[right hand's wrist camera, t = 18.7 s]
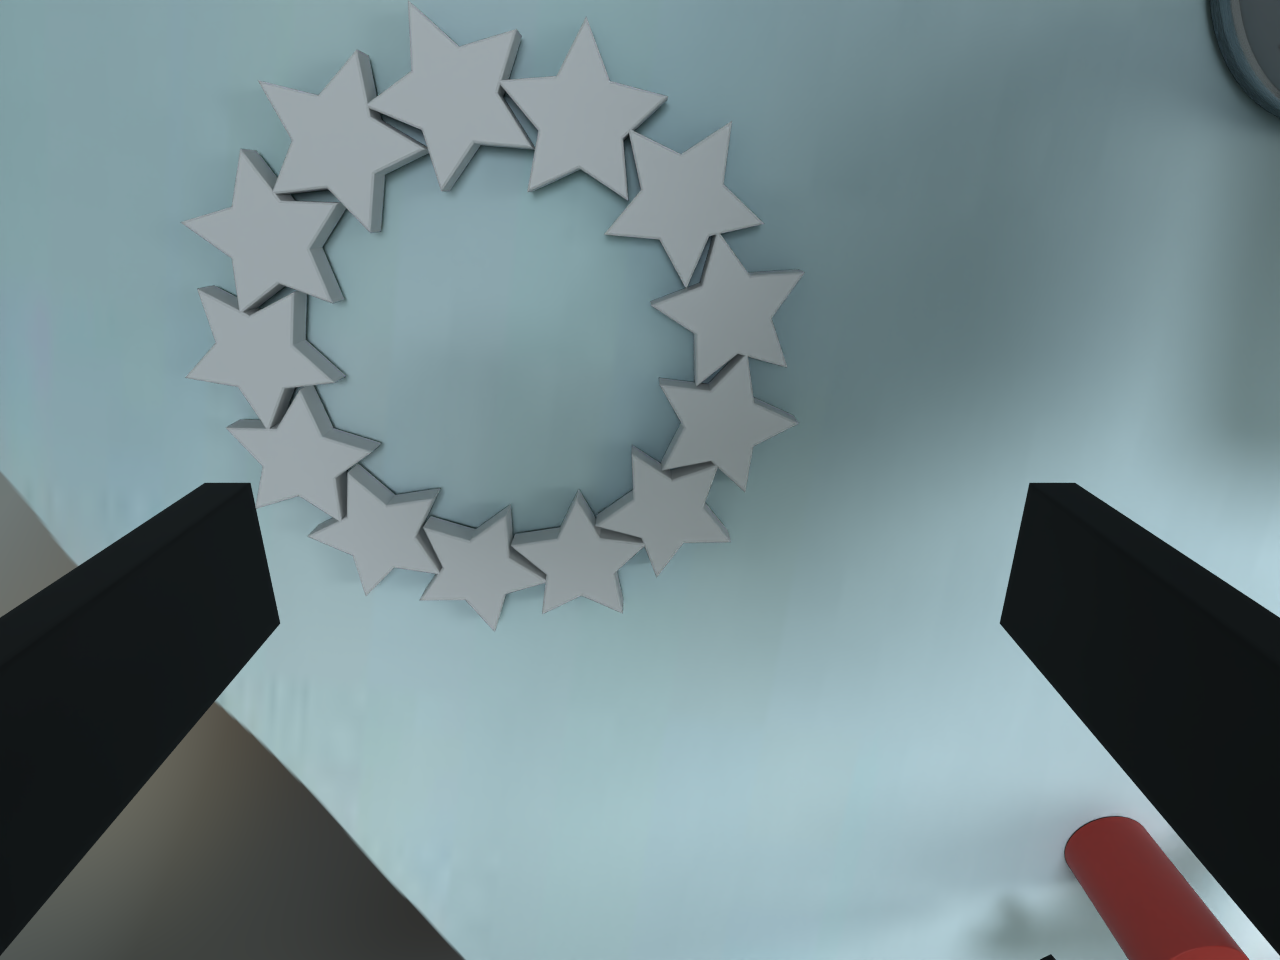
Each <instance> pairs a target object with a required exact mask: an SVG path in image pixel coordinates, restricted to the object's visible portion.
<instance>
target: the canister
mask: <svg viewBox="0 0 1280 960" xmlns="http://www.w3.org/2000/svg"><path fill="white" fill-rule="evenodd" d="M1065 859H1066V862H1067V864H1068V866H1069V867H1070V869H1071V870H1072V872H1073V873H1074V875H1075V877H1076V878H1077V880H1078V881H1079V883H1080V884H1081V886H1082V888H1083V889H1084V891H1085V892H1086V894H1087V895H1088V897H1089V898H1090V900H1091V902H1092V903H1093V905H1094V906H1095V908H1096V909H1097V911H1098V913H1099V914H1100V916H1101V917H1102V919H1103V920H1104V922H1105V923H1106V925H1107V927H1108V928H1109V930H1110V931H1111V933H1112V934H1113V936H1114V938H1115V939H1116V941H1117V942H1118V944H1119V945H1120V947H1121V948H1122V950H1123V952H1124V953H1125V955H1126V956H1127V958H1128V959H1129V960H1249V959H1248V957H1247V956H1246V955H1245V953H1244V952H1243V951H1242V950H1241V948H1240V947H1239V946H1238V945H1237V943H1236V942H1235V941H1234V940H1233V938H1232V937H1231V936H1230V935H1229V933H1228V932H1227V931H1226V930H1225V928H1224V927H1223V926H1222V925H1221V923H1220V922H1219V921H1218V920H1217V918H1216V917H1215V916H1214V915H1213V913H1212V912H1211V911H1210V910H1209V908H1208V907H1207V906H1206V905H1205V903H1204V902H1203V901H1202V900H1201V898H1200V897H1199V896H1198V895H1197V893H1196V892H1195V891H1194V890H1193V888H1192V887H1191V886H1190V885H1189V883H1188V882H1187V881H1186V880H1185V878H1184V877H1183V876H1182V875H1181V873H1180V872H1179V871H1178V870H1177V868H1176V867H1175V866H1174V865H1173V863H1172V862H1171V861H1170V860H1169V858H1168V857H1167V856H1166V855H1165V853H1164V852H1163V851H1162V850H1161V848H1160V847H1159V846H1158V845H1157V843H1156V842H1155V841H1154V840H1153V838H1152V837H1151V836H1150V835H1149V833H1148V832H1147V831H1146V829H1145V828H1144V827H1143V826H1142V825H1141V824H1140V823H1138V822H1136V821H1134V820H1132V819H1129V818H1125V817H1106V818H1101V819H1098V820H1095V821H1092V822H1090V823H1088V824H1086V825H1084V826H1083V827H1081V828H1080V829H1079V830H1078V831H1076V832H1075V833H1074V834H1073V835H1072V837H1071V838H1070V839H1069V841H1068V843H1067V845H1066V849H1065Z"/></svg>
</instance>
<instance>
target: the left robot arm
mask: <svg viewBox="0 0 1280 960" xmlns="http://www.w3.org/2000/svg"><path fill="white" fill-rule="evenodd" d="M1040 960H1056V959H1055V958H1054V957H1053V956H1052V955H1048V956H1046V957H1044V958H1042V959H1040Z"/></svg>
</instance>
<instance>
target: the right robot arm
mask: <svg viewBox="0 0 1280 960" xmlns="http://www.w3.org/2000/svg"><path fill="white" fill-rule="evenodd" d="M1210 6H1211V15H1212V21H1213V26H1214V31H1215V35H1216V38H1217V41H1218V45H1219V48H1220V51H1221V53H1222V55H1223V58H1224V60H1225V62H1226V64H1227V66H1228V68H1229V70H1230V71H1231V73H1232V75H1233V76H1234V78H1235V80H1236V81H1237V82H1238V83H1239V85H1240V86H1241V87H1242V89H1243V90H1244V91H1245V92H1246V93H1247V94H1248V95H1249V96H1250V97H1251V98H1252V99H1253V100H1254V101H1255V102H1256V103H1257V104H1259V105H1260V106H1261V107H1263V108H1264V109H1265V110H1267V111H1268V112H1270V113H1272V114H1273V115H1275V116H1277V117H1279V118H1280V0H1210ZM279 624H280V620H279V616H278V611H277V606H276V601H275V597H274V592H273V587H272V582H271V578H270V573H269V568H268V564H267V559H266V554H265V549H264V545H263V540H262V535H261V530H260V526H259V521H258V516H257V512H256V507H255V502H254V497H253V493H252V488H251V483H204V484H203V485H201V486H200V487H198V488H196V489H195V490H193V491H192V492H190V493H189V494H187V495H186V496H184V497H183V498H181V499H180V500H178V501H177V502H175V503H174V504H172V505H171V506H169V507H168V508H166V509H165V510H163V511H162V512H160V513H159V514H157V515H155V516H154V517H152V518H151V519H149V520H148V521H146V522H145V523H143V524H142V525H140V526H139V527H137V528H136V529H134V530H133V531H131V532H130V533H128V534H127V535H125V536H124V537H122V538H121V539H119V540H118V541H116V542H114V543H113V544H111V545H110V546H108V547H107V548H105V549H104V550H102V551H101V552H99V553H98V554H96V555H95V556H93V557H92V558H90V559H89V560H87V561H86V562H84V563H83V564H81V565H80V566H78V567H77V568H75V569H73V570H72V571H71V572H69V573H68V574H66V575H64V576H63V577H61V578H60V579H58V580H57V581H55V582H54V583H52V584H51V585H49V586H48V587H46V588H45V589H43V590H42V591H40V592H39V593H37V594H36V595H34V596H32V597H31V598H30V599H28V600H26V601H25V602H23V603H22V604H20V605H19V606H17V607H16V608H14V609H13V610H11V611H10V612H8V613H7V614H5V615H4V616H2V617H1V618H0V955H1V954H2V953H3V952H4V951H5V949H6V948H7V947H8V946H9V945H10V943H11V942H12V941H13V940H14V939H15V938H16V936H17V935H18V934H19V933H20V932H21V930H22V929H23V928H24V927H25V926H26V924H27V923H28V922H29V921H30V920H31V918H32V917H33V916H34V915H35V914H36V913H37V911H38V910H39V909H40V908H41V907H42V905H43V904H44V903H45V902H46V901H47V900H48V898H49V897H50V896H51V895H52V894H53V892H54V891H55V890H56V889H57V888H58V886H59V885H60V884H61V883H62V882H63V881H64V879H65V878H66V877H67V876H68V875H69V873H70V872H71V871H72V870H73V869H74V867H75V866H76V865H77V864H78V863H79V862H80V860H81V859H82V858H83V857H84V856H85V854H86V853H87V852H88V851H89V850H90V848H91V847H92V846H93V845H94V844H95V843H96V841H97V840H98V839H99V838H100V837H101V835H102V834H103V833H104V832H105V831H106V829H107V828H108V827H109V826H110V825H111V823H112V822H113V821H114V820H115V819H116V818H117V816H118V815H119V814H120V813H121V812H122V811H123V809H124V808H125V807H126V806H127V805H128V803H129V802H130V801H131V800H132V799H133V797H134V796H135V795H136V794H137V793H138V791H139V790H140V789H141V788H142V787H143V786H144V784H145V783H146V782H147V781H148V780H149V778H150V777H151V776H152V775H153V774H154V773H155V771H156V770H157V769H158V768H159V767H160V765H161V764H162V763H163V762H164V761H165V760H166V758H167V757H168V756H169V755H170V754H171V752H172V751H173V750H174V749H175V748H176V746H177V745H178V744H179V743H180V742H181V740H182V739H183V738H184V737H185V736H186V735H187V733H188V732H189V731H190V730H191V729H192V727H193V726H194V725H195V724H196V723H197V722H198V720H199V719H200V718H201V717H202V716H203V714H204V713H205V712H206V711H207V710H208V708H209V707H210V706H211V705H212V704H213V703H214V701H215V700H216V699H217V698H218V697H219V695H220V694H221V693H222V692H223V691H224V689H225V688H226V687H227V686H228V685H229V684H230V682H231V681H232V680H233V679H234V678H235V676H236V675H237V674H238V673H239V672H240V671H241V669H242V668H243V667H244V666H245V665H246V663H247V662H248V661H249V660H250V659H251V657H252V656H253V655H254V654H255V653H256V652H257V650H258V649H259V648H260V647H261V646H262V644H263V643H264V642H265V641H266V640H267V638H268V637H269V636H270V635H271V634H272V633H273V631H274V630H275V629H276V628H277V627H278V625H279ZM1000 624H1001V625H1002V627H1003V628H1004V629H1005V630H1006V631H1007V633H1008V634H1009V635H1010V636H1011V637H1012V638H1013V640H1014V641H1015V642H1016V643H1017V644H1018V646H1019V647H1020V648H1021V649H1022V650H1023V652H1024V653H1025V654H1026V655H1027V656H1028V657H1029V659H1030V660H1031V661H1032V662H1033V663H1034V665H1035V666H1036V667H1037V668H1038V669H1039V671H1040V672H1041V673H1042V674H1043V675H1044V676H1045V678H1046V679H1047V680H1048V681H1049V682H1050V684H1051V685H1052V686H1053V687H1054V688H1055V689H1056V691H1057V692H1058V693H1059V694H1060V695H1061V697H1062V698H1063V699H1064V700H1065V701H1066V703H1067V704H1068V705H1069V706H1070V707H1071V708H1072V710H1073V711H1074V712H1075V713H1076V714H1077V716H1078V717H1079V718H1080V719H1081V720H1082V722H1083V723H1084V724H1085V725H1086V726H1087V727H1088V729H1089V730H1090V731H1091V732H1092V733H1093V735H1094V736H1095V737H1096V738H1097V739H1098V741H1099V742H1100V743H1101V744H1102V745H1103V746H1104V748H1105V749H1106V750H1107V751H1108V752H1109V754H1110V755H1111V756H1112V757H1113V758H1114V760H1115V761H1116V762H1117V763H1118V764H1119V765H1120V767H1121V768H1122V769H1123V770H1124V771H1125V773H1126V774H1127V775H1128V776H1129V777H1130V778H1131V780H1132V781H1133V782H1134V783H1135V784H1136V786H1137V787H1138V788H1139V789H1140V790H1141V792H1142V793H1143V794H1144V795H1145V796H1146V797H1147V799H1148V800H1149V801H1150V802H1151V803H1152V805H1153V806H1154V807H1155V808H1156V809H1157V811H1158V812H1159V813H1160V814H1161V815H1162V816H1163V818H1164V819H1165V820H1166V821H1167V822H1168V824H1169V825H1170V826H1171V827H1172V828H1173V830H1174V831H1175V832H1176V833H1177V834H1178V835H1179V837H1180V838H1181V839H1182V840H1183V841H1184V843H1185V844H1186V845H1187V846H1188V847H1189V849H1190V850H1191V851H1192V852H1193V853H1194V854H1195V856H1196V857H1197V858H1198V859H1199V860H1200V862H1201V863H1202V864H1203V865H1204V866H1205V868H1206V869H1207V870H1208V871H1209V872H1210V873H1211V875H1212V876H1213V877H1214V878H1215V879H1216V881H1217V882H1218V883H1219V884H1220V885H1221V886H1222V888H1223V889H1224V890H1225V891H1226V892H1227V894H1228V895H1229V896H1230V897H1231V898H1232V900H1233V901H1234V902H1235V903H1236V904H1237V905H1238V907H1239V908H1240V909H1241V910H1242V911H1243V913H1244V914H1245V915H1246V916H1247V917H1248V919H1249V920H1250V921H1251V922H1252V923H1253V924H1254V926H1255V927H1256V928H1257V929H1258V930H1259V932H1260V933H1261V934H1262V935H1263V936H1264V938H1265V939H1266V940H1267V941H1268V942H1269V943H1270V945H1271V946H1272V947H1273V948H1274V949H1275V951H1276V952H1277V953H1278V954H1279V955H1280V618H1279V617H1278V616H1276V615H1275V614H1273V613H1272V612H1270V611H1269V610H1267V609H1266V608H1264V607H1263V606H1261V605H1260V604H1258V603H1257V602H1255V601H1254V600H1252V599H1251V598H1249V597H1248V596H1246V595H1244V594H1243V593H1241V592H1240V591H1238V590H1237V589H1235V588H1234V587H1232V586H1231V585H1229V584H1228V583H1226V582H1225V581H1223V580H1222V579H1220V578H1219V577H1217V576H1216V575H1214V574H1213V573H1211V572H1210V571H1208V570H1207V569H1205V568H1203V567H1202V566H1200V565H1199V564H1197V563H1196V562H1194V561H1193V560H1191V559H1190V558H1188V557H1187V556H1185V555H1184V554H1182V553H1181V552H1179V551H1178V550H1176V549H1175V548H1173V547H1172V546H1170V545H1169V544H1167V543H1166V542H1164V541H1162V540H1161V539H1159V538H1158V537H1156V536H1155V535H1153V534H1152V533H1150V532H1149V531H1147V530H1146V529H1144V528H1143V527H1141V526H1140V525H1138V524H1137V523H1135V522H1134V521H1132V520H1131V519H1129V518H1128V517H1126V516H1125V515H1123V514H1121V513H1120V512H1118V511H1117V510H1115V509H1114V508H1112V507H1111V506H1109V505H1108V504H1106V503H1105V502H1103V501H1102V500H1100V499H1099V498H1097V497H1096V496H1094V495H1093V494H1091V493H1090V492H1088V491H1087V490H1085V489H1084V488H1082V487H1080V486H1079V485H1077V484H1076V483H1029V488H1028V493H1027V497H1026V502H1025V507H1024V512H1023V516H1022V521H1021V526H1020V530H1019V535H1018V540H1017V545H1016V549H1015V554H1014V559H1013V564H1012V568H1011V573H1010V578H1009V582H1008V587H1007V592H1006V597H1005V601H1004V606H1003V611H1002V616H1001V620H1000Z"/></svg>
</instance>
